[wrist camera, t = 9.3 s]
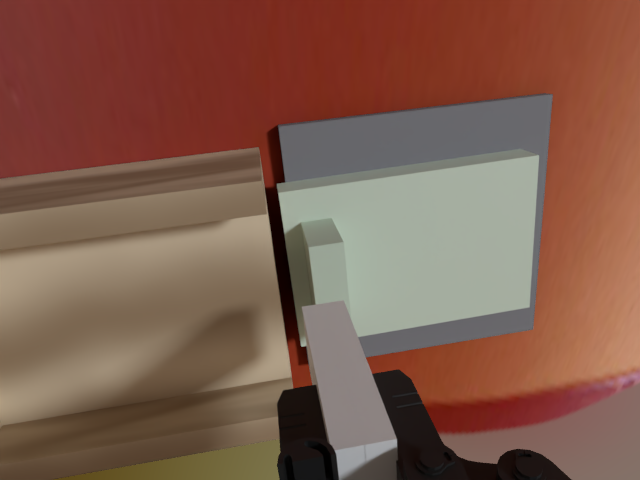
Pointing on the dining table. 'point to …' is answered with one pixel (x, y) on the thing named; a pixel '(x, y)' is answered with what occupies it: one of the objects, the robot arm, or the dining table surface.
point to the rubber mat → (419, 147)
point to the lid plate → (414, 240)
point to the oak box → (137, 314)
